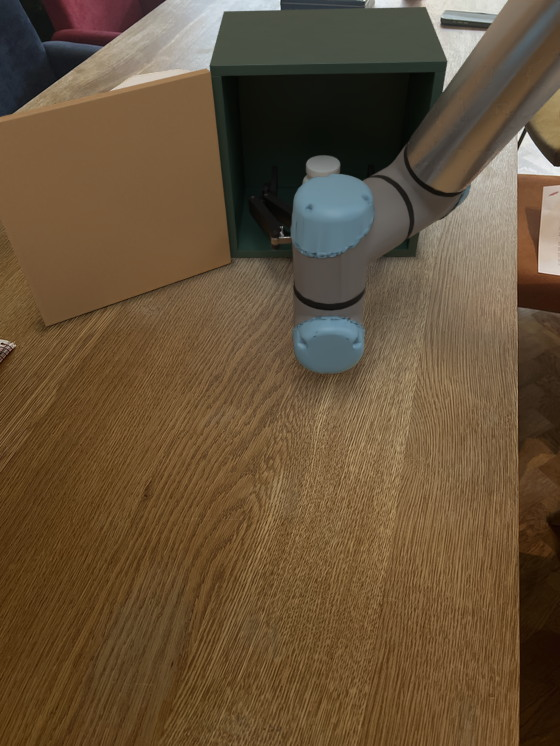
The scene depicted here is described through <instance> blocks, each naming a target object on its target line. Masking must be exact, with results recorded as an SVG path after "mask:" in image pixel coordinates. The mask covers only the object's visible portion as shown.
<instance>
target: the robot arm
mask: <svg viewBox="0 0 560 746" xmlns="http://www.w3.org/2000/svg"><path fill="white" fill-rule="evenodd" d="M500 9H501V10H500V11H499V12H498V13H497V15H496V16H495V18H494V19H493V21H492V22H491V23H490V25H489V26H488V28H487V29H486V30H485V32H484V33H483V35H482V36H481V38H480V39H479V40H478V41H477V43H476V44H475V46H474V47H473V49H472V50H471V51H470V53H469V55H468V56H467V57H466V58H465V60H464V62H463V63H462V64H461V65H460V68H459V69H458V70H457V72H456V73H455V74H454V75H453V77H452V79H451V80H450V81H449V83H448V84H447V85H446V87H445V89H443V93H442V94H441V95H440V97H439V98H438V100H437V101H436V103H435V104H434V105H433V107H432V108H431V110H430V111H429V112H428V114H427V115H426V117H425V118H424V119H423V121H422V122H421V124H420V125H419V126H418V128H417V129H416V131H415V132H414V134H413V135H412V136H411V138H410V140H409V141H408V143H407V144H406V145H405V147H404V148H403V149H402V151H401V152H400V154H399V155H398V156H397V158H396V159H395V160H394V161H393V163H392V164H390V165H389V166H388V167H386V168H385V169H383V170H381V171H379V172H377V173H376V174H375V171H374V165H373V164H368V172H367V179H365V180H363V181H361V180H359V179H357V178H355V177H352V176H349V175H343V174H329V175H328V176H327V177H314V178H312V179H310V180H308V181H306V182H305V183H304V184H302V185H301V186H300V188H299V189H298V190H297V192H296V194H295V197H294V201H293V207H291V206H290V205H288V204H287V203H285V202H284V201H282V200H281V199H279V198H277V192H278V169H277V166H272V175H271V183H264V184H263V188H262V189H261V191H262V195H261V196H258V197H257V196H256V195H254V194H252V195H249V196H248V202H249V213H250V215H251V216H252V217H253V218H254V220H255V221H256V222H257V223H258V225H259V226H260V227H261V229H262V230H263V231H264V232H265V234H266V235H267V236H268V237H269V239H270V241H271V248H272V249H274V250H277V249H280V247H281V244H284V243H292V249H293V257H292V268H293V269H292V270H293V282H292V283H293V284H292V309H293V310H292V311H293V313H292V314H293V315H292V316H293V322H292V325H293V327H292V331H291V332H292V333H291V338H292V341H293V353H294V356H295V359H296V360H297V361H298V363H299V364H300V365H301V366H302V367H303V368H305V369H306V370H307V371H310V372H312V373H316V374H319V375H320V374H321V375H326V374H327V375H330V374H332V375H336V374H341V373H344V372H347V371H349V370H351V369H353V368H354V367H355V366H356V365H357V364H358V363H359V362H360V361H361V359H362V358H363V356H364V352H365V339H366V329H365V328H364V310H365V299H366V290H367V278H368V269H369V266H370V265H371V264H372V263H373V262H375V261H376V260H379V258H382V257H381V256H383V255H384V254H386V253H387V252H389V251H390V250H392V249H394V248H395V247H397V246H398V245H400V244H401V243H403V242H405V241H406V240H407V239H408V238H410V237H412V236H413V235H415V234H417V233H418V232H419V233H420V232H421V231H423V230H424V229H426V228H428V227H429V226H431V225H433V224H434V223H437V222H438V221H441V220H443V219H445V218H446V217H448V216H449V215H450V214H451V213H452V212H454V211H455V210H456V209H457V208H458V207H459V206H460V205H462V203H464V202H465V201H466V199H467V198H468V196H469V195H470V191H471V186H472V183H473V182H474V180H476V179H477V177H478V176H479V175H480V174H481V173H482V172H483V171H485V169H486V168H487V167H488V166H489V164H491V163H492V162H493V160H495V158H497V156H498V155H499V154H500V153H501V152H502V151H503V149H505V148H506V147H507V145H508V144H509V143H510V142H511V141H513V139H514V138H515V137H516V136H517V135H518V134H519V133H520V132H521V131H522V129H523V128H524V127H525V126H526V125H527V124H528V123H529V122H530V121H531V120H532V119H533V118H534V117H535V116H536V114H537V113H538V112H540V110H541V109H542V108H543V107H545V105H546V104H547V103H548V101H550V100H551V98H552V97H553V96H554V95H555V94H556V93H557V92H558V91H559V90H560V0H506V2H505V4H504V5H503V6H502V8H500ZM278 221H279V222H280V223H282V224H283V225H284V226H286V227H287V228H289V229H290V230H291V232H287V231H286V230H285V229H283V225H279V223H278Z"/></svg>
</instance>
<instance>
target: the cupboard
mask: <svg viewBox="0 0 560 746" xmlns="http://www.w3.org/2000/svg"><path fill="white" fill-rule="evenodd" d="M448 62H449V61H448V59H447V56H446V54H445V52H444V49H443V46H442V44H441V40H440V39H439V37H438V34H437V31H436V29H435V26H434V23H433V21H432V18H431V16H430V14H429V12H428V9H427V7H426V6H405V7H404V6H403V7H402V6H401V7H358V8H357V7H356V8H355V7H354V8H316V9H315V8H314V9H313V8H312V9H311V8H310V9H271V10H269V9H268V10H227V11H226V10H225V11H224V10H223V14H222V17H221V21H220V24H219V29H218V32H217V35H216V39H215V44H214V47H213V51H212V54H211V58H210V62H209V71H210V72H211V80H212V89H213V99H214V108H215V117H216V127H217V136H218V145H219V154H220V164H221V173H222V182H223V192H224V201H225V210H226V219H227V229H228V238H229V247H230V257H231V259H237V258H238V259H241V258H242V259H244V258H247V259H254V258H260V259H261V258H267V259H268V258H271V259H272V258H293V249H292V243H284V244H281V247H280V249H277V250H274V249H272V248H271V241H270V239H269V237H268V236H267V235H266V234H265V232H264V231H263V230H262V229H261V227H260V226H259V225H258V223H257V222H256V221H255V220H254V218H253V217H252V216H251V215H250V213H249V202H248V196H249V195H252V194H254V195H256V196H257V197H258V196H261V195H262V191H261V189H262V188H263V184H264V183H271V175H272V166H277V169H278V192H277V198H279V199H281V200H282V201H284V202H285V203H287V204H288V205H290V206H291V207H293V201H294V197H295V194H296V192H297V190H298V189H299V188H300V186H301V185H302V183H303V179H304V177H305V176H306V175H307V173H306V163H307V161H308V160H309V159H310V158H312V157H315V156H319V155H326V156H332V157H334V158H336V159H338V160H339V162H340V173H339V174H343V175H349V176H352V177H355V178H357V179H359V180H361V181H363V180H365V179H367V172H368V164H373V165H374V171H375V174H376V173H377V172H379V171H381V170H383V169H385V168H386V167H388V166H389V165H390V164H392V163H393V161H394V160H395V159H396V158H397V156H398V155H399V154H400V152H401V151H402V149H403V148H404V147H405V145H406V144H407V143H408V141H409V140H410V138H411V136H412V135H413V134H414V132H415V131H416V129H417V128H418V126H419V125H420V124H421V122H422V121H423V119H424V118H425V117H426V115H427V114H428V112H429V111H430V110H431V108H432V107H433V105H434V104H435V103H436V101H437V100H438V98H439V97H440V95H441V94H442V93H443V91H444V87H445V81H446V80H445V79H446V73H447V68H448ZM278 223H279V225H283V224H282V223H280V222H279V221H278ZM283 229H285V230H286V231H287V232H291V230H290V229H289V228H287V227H286V226H284V225H283ZM419 238H420V232H418V233H417V234H415V235H413V236H412V237H410V238H408V239H407V240H406V241H405V242H403V243H401V244H400V245H398V246H397V247H395V248H394V249H392V250H390V251H389V252H387V253H386V254H384V255H383V256H381V257H380V258H407V257H408V258H415V257H416V256H417V250H418V243H419Z"/></svg>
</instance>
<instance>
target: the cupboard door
mask: <svg viewBox="0 0 560 746" xmlns="http://www.w3.org/2000/svg"><path fill="white" fill-rule="evenodd" d="M192 71H193V70H192ZM111 90H112V89H111ZM0 222H1V224H2V227H3V229H4V231H5V234H6V236H7V238H8V241H9V244H10V245H11V249H12V250H13V253H14V255H15V257H16V260H17V262H18V264H19V266H20V269H21V272H22V273H23V276H24V278H25V281H26V283H27V286H28V288H29V290H30V293H31V294H32V297H33V300H34V302H35V304H36V307H37V309H38V311H39V314H40V317H41V319H42V321H43V324H44V326H45V327H46V328H47V327H50V326H53V325H55V324H58V323H61V322H64V321H67V320H70V319H73V318H75V317H79V316H81V315H84V314H88V313H90V312H93V311H96V310H99V309H102V308H104V307H108V306H111V305H113V304H116V303H119V302H123V301H124V300H128V299H131V298H134V297H136V296H139V295H142V294H145V293H148V292H151V291H154V290H156V289H160V288H163V287H166V286H168V285H171V284H175V283H177V282H180V281H183V280H185V279H189V278H191V277H194V276H197V275H200V274H203V273H206V272H209V271H211V270H215V269H217V268H220V267H223V266H226V265H229V264H232V258H231V257H230V247H229V238H228V229H227V219H226V210H225V201H224V192H223V182H222V173H221V164H220V154H219V145H218V136H217V127H216V117H215V108H214V99H213V89H212V80H211V72H210V69H208V68H202V69H198V70H194V71H193V72H189V73H184V74H180V75H176V76H172V77H167V78H163V79H159V80H155V81H150V82H146V83H142V84H138V85H133V86H129V87H125V88H121V89H116V90H112V91H110V90H107V91H104V92H100V93H95V94H91V95H87V96H83V97H79V98H75V99H71V100H66V101H61V102H57V103H53V104H48V105H45V106H41V107H36V108H32V109H28V110H23V111H20V112H15V113H11V114H6V115H2V116H0Z"/></svg>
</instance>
